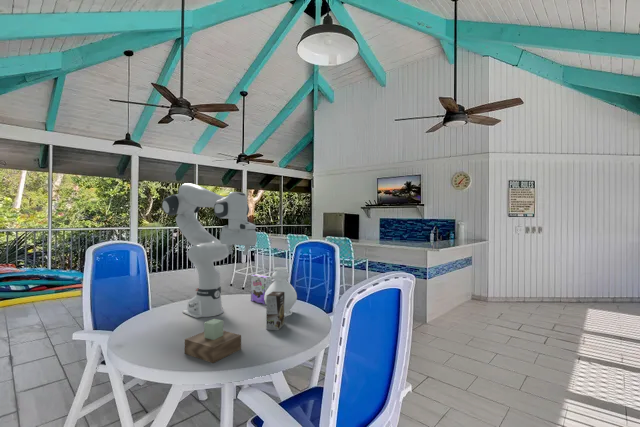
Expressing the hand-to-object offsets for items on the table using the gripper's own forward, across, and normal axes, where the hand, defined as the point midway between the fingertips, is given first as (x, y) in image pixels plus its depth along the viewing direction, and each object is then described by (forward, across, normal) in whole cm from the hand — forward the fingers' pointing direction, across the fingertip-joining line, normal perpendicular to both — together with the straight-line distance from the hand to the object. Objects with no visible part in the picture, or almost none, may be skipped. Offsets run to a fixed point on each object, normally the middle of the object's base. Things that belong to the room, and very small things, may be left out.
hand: (237, 254), depth 150 cm
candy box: (+35, -20, +42) cm, 58 cm away
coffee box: (+35, +15, +10) cm, 40 cm away
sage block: (+30, +10, -24) cm, 39 cm away
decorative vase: (+35, +5, +28) cm, 45 cm away
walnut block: (+36, +10, -24) cm, 44 cm away
